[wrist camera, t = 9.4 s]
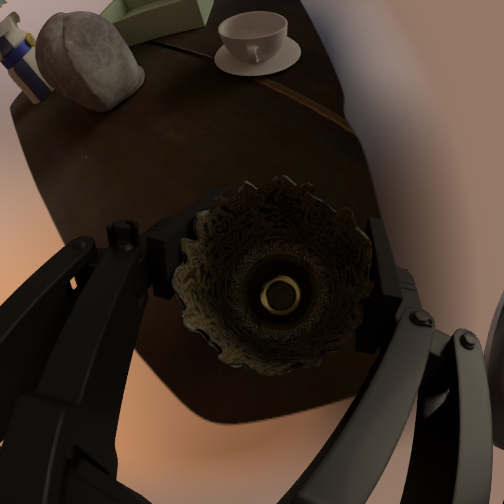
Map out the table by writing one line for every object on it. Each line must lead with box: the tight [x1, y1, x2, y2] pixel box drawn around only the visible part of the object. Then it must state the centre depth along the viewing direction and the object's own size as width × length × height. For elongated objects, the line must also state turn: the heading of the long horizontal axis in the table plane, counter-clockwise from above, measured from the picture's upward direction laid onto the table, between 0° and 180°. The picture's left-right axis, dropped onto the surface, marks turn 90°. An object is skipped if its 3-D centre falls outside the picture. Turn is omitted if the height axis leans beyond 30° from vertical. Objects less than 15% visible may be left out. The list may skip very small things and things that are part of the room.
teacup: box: [215, 12, 301, 76], centre depth 24 cm, size 10×10×5 cm
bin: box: [100, 0, 214, 47], centre depth 32 cm, size 21×21×6 cm
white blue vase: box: [0, 0, 54, 104], centre depth 22 cm, size 8×9×25 cm
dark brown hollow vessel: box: [172, 175, 374, 376], centre depth 14 cm, size 8×7×8 cm
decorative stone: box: [35, 11, 145, 112], centre depth 21 cm, size 15×10×15 cm
